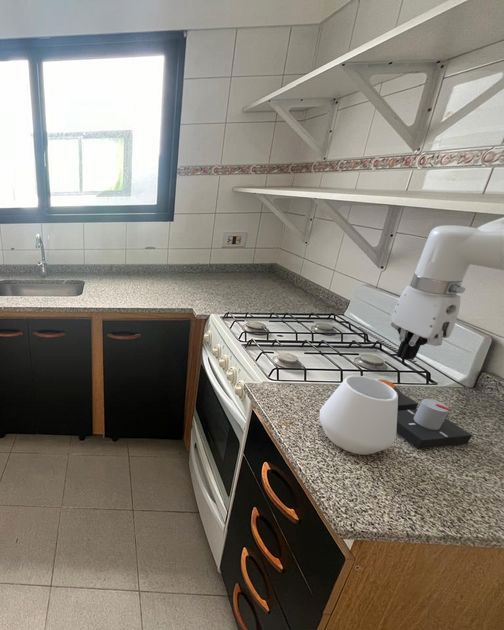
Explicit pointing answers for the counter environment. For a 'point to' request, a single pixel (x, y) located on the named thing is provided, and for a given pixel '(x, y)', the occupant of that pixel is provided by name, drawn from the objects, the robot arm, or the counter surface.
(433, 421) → the timer knob
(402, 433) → the timer panel
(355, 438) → the cup
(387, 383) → the button
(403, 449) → the counter surface
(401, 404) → the block
